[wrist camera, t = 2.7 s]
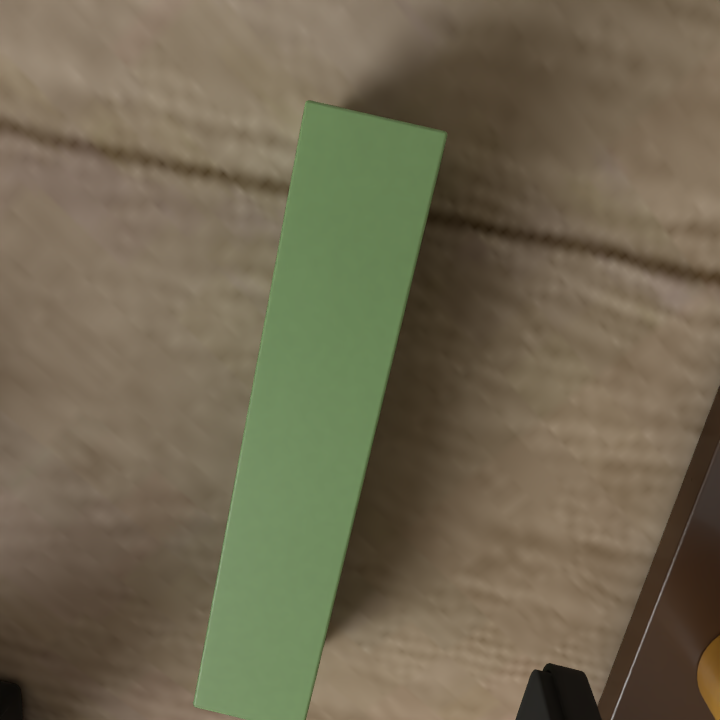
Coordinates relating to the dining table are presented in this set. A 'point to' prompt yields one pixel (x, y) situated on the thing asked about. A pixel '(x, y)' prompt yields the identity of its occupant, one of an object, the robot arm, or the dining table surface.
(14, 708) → the battery
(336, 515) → the green bar
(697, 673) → the rod stand
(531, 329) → the dining table surface
